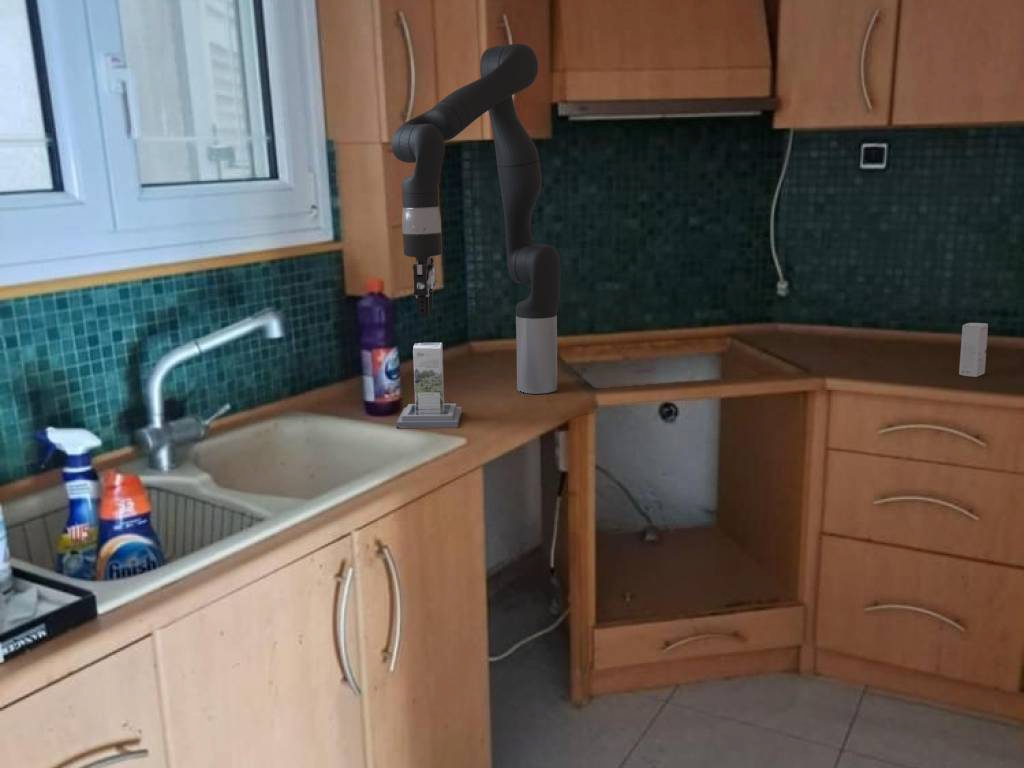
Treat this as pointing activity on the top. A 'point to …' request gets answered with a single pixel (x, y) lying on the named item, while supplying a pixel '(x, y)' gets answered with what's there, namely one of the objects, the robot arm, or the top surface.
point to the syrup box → (428, 378)
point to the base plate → (430, 418)
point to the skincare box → (973, 349)
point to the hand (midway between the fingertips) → (425, 313)
